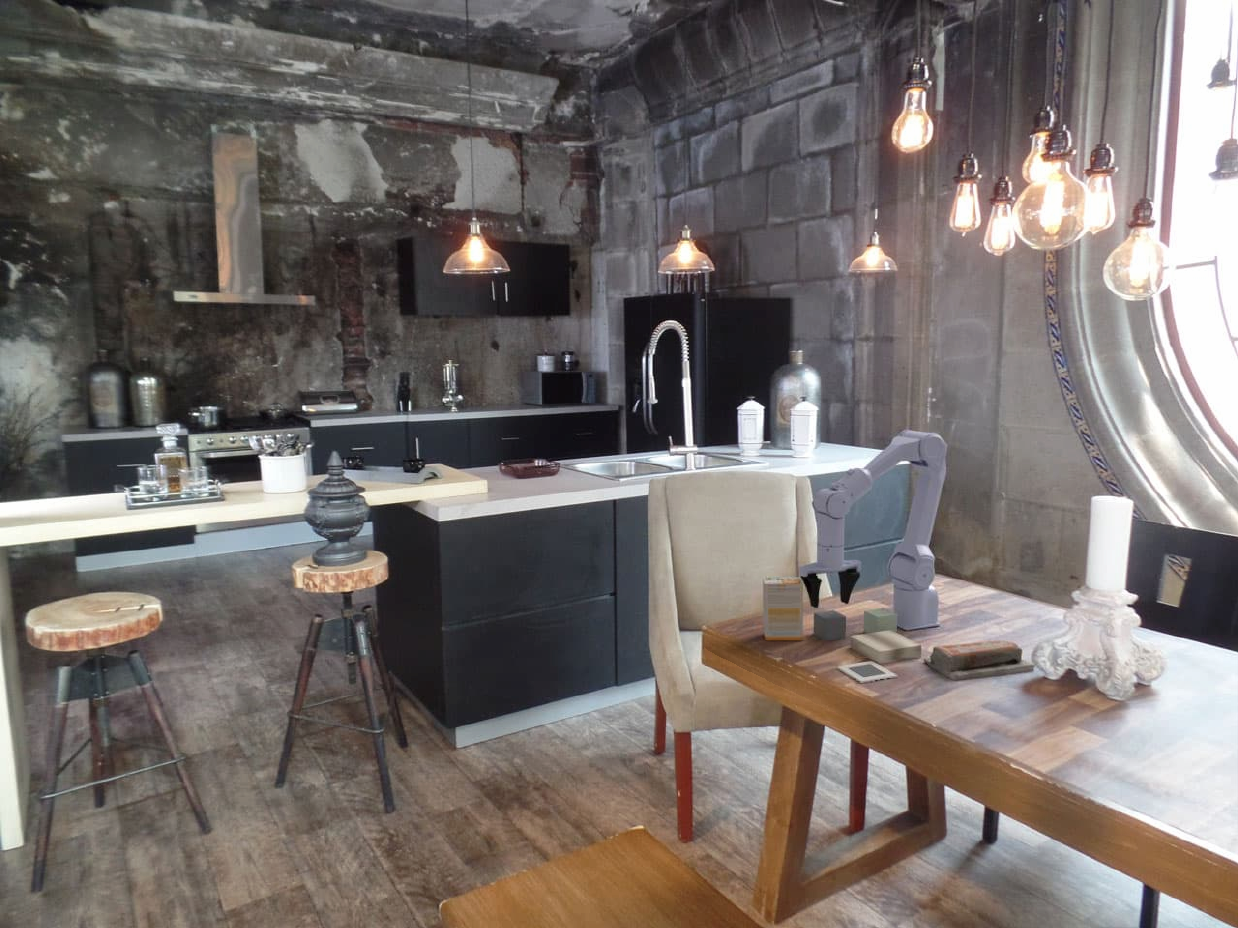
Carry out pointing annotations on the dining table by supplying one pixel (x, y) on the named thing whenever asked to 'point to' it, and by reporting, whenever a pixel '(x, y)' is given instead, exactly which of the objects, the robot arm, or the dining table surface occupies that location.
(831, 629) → the charcoal block
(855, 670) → the tile
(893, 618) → the sage block
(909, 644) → the birch base block
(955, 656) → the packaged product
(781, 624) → the supplement box
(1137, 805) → the dining table surface
